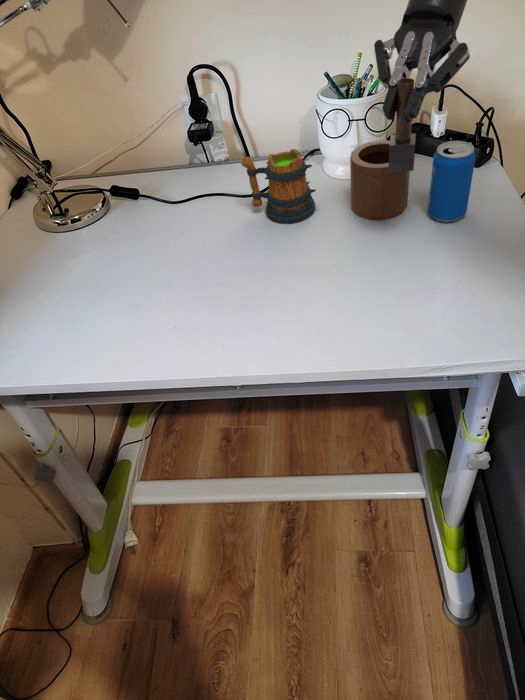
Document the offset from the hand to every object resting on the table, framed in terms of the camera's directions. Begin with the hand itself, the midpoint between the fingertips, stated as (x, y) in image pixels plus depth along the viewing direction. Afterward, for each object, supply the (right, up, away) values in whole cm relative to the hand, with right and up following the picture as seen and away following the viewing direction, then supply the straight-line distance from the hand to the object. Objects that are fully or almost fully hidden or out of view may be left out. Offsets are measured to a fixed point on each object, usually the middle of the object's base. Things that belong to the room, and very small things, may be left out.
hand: (398, 118), depth 70 cm
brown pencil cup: (+3, -5, +25) cm, 25 cm away
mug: (-15, -5, +28) cm, 32 cm away
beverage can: (+14, -8, +20) cm, 25 cm away
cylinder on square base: (+2, -4, +7) cm, 8 cm away
